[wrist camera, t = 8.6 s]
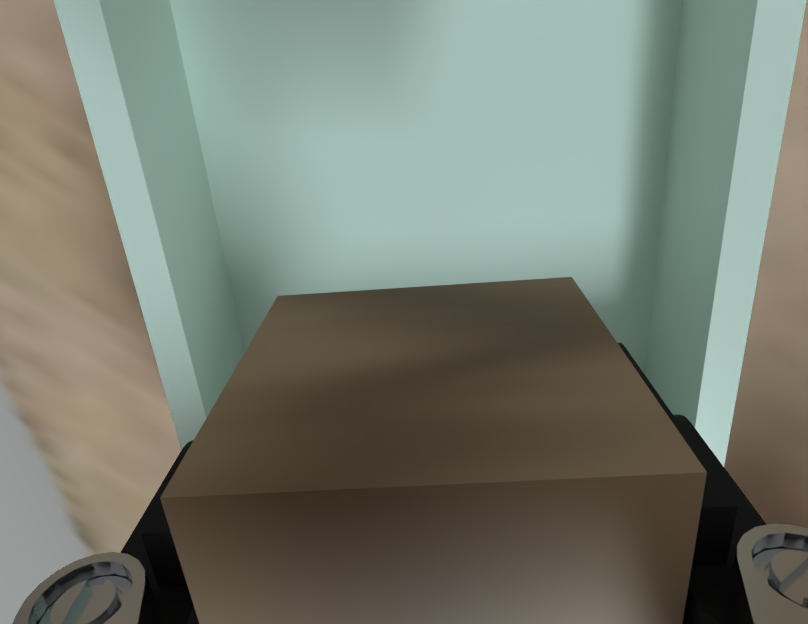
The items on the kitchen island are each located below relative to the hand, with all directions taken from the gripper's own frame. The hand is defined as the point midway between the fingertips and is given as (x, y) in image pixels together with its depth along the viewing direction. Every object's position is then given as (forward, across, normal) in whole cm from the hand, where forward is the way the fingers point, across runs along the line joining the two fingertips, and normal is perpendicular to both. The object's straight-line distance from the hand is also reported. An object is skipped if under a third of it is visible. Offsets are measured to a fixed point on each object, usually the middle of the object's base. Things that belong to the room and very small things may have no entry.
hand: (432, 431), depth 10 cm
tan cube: (+1, 0, 0) cm, 1 cm away
